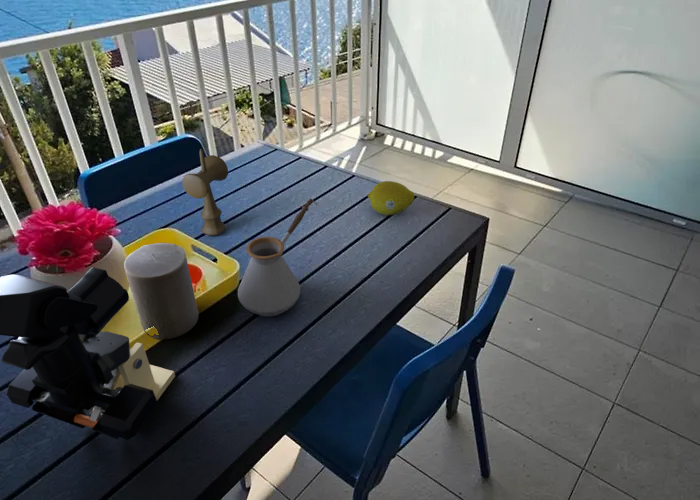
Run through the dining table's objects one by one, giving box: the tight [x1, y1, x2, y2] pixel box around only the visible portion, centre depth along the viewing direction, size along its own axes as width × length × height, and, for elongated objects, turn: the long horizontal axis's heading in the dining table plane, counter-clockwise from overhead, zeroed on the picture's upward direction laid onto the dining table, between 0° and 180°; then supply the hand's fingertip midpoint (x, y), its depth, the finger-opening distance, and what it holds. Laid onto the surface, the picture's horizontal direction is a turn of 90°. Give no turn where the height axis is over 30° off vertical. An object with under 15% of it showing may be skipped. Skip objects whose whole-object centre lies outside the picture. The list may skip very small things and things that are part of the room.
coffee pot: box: [237, 198, 318, 317], centre depth 93 cm, size 21×12×15 cm, turn 151°
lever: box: [74, 367, 121, 429], centre depth 70 cm, size 11×6×2 cm
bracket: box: [88, 341, 176, 415], centre depth 73 cm, size 10×8×10 cm
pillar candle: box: [123, 242, 199, 340], centre depth 85 cm, size 10×10×15 cm
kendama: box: [182, 148, 229, 237], centre depth 106 cm, size 6×10×20 cm, turn 164°
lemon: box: [367, 180, 415, 216], centre depth 118 cm, size 11×8×8 cm
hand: (102, 430), depth 70 cm, fingers closed on lever, 5 cm apart
